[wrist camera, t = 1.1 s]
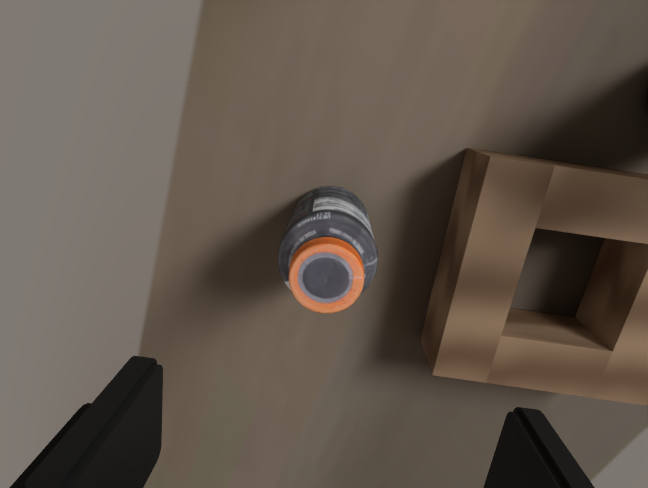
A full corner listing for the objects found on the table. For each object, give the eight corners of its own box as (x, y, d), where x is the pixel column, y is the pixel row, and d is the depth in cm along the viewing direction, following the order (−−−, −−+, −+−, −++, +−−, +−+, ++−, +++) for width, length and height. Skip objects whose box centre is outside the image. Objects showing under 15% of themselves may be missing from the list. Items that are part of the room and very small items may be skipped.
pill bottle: (316, 270, 34) (304, 348, 23) (277, 208, 32) (245, 260, 21) (382, 236, 32) (402, 301, 22) (345, 170, 31) (348, 204, 20)
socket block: (466, 148, 30) (490, 156, 25) (683, 179, 30) (748, 193, 25) (420, 338, 35) (432, 375, 30) (605, 364, 35) (646, 405, 30)
